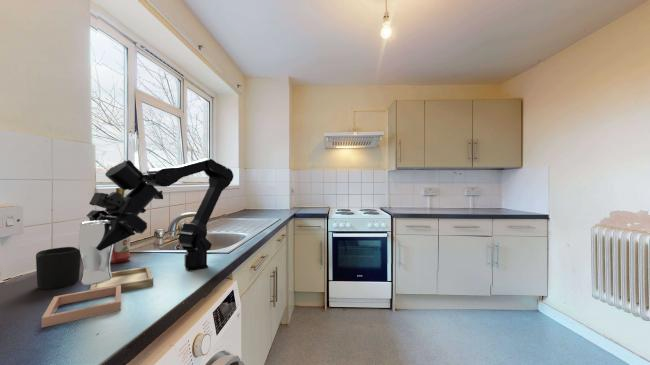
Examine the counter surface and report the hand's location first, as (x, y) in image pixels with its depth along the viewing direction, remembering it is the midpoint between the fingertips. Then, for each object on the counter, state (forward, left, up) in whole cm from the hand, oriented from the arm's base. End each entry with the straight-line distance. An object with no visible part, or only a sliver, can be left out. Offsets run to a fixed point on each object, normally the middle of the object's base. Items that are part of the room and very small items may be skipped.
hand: (90, 248), depth 67 cm
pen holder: (+8, -20, -14) cm, 26 cm away
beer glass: (-1, -1, -9) cm, 9 cm away
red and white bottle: (-6, -38, -14) cm, 41 cm away
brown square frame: (0, +4, -14) cm, 14 cm away
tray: (-7, -10, -14) cm, 18 cm away
